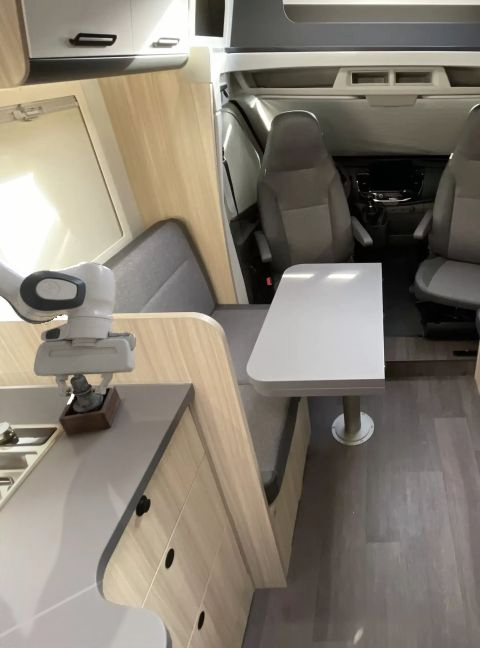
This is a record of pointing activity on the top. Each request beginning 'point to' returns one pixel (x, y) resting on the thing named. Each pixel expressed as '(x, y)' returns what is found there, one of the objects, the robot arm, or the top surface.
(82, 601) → the top surface
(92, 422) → the open brown box
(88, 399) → the dark grey chess piece
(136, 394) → the top surface
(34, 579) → the top surface
